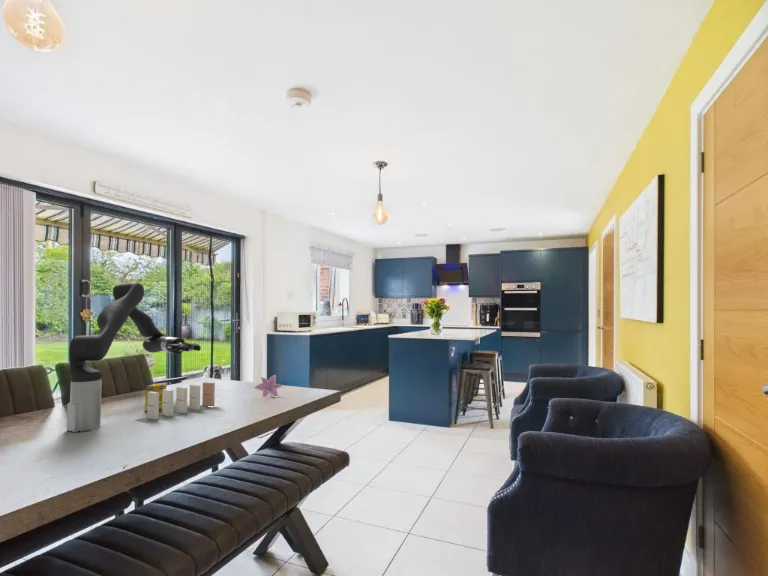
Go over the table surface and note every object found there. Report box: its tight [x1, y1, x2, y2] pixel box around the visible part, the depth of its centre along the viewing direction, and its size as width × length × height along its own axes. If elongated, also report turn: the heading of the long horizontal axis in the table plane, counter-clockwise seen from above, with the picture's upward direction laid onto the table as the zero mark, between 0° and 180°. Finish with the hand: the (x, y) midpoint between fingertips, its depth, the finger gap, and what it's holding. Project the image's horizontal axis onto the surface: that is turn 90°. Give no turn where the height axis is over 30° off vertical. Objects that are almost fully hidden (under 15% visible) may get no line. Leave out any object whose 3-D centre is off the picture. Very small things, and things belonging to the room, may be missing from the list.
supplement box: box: [144, 383, 167, 413], centre depth 179 cm, size 6×6×11 cm
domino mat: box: [135, 404, 215, 424], centre depth 175 cm, size 31×9×1 cm, turn 148°
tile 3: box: [175, 386, 188, 413], centre depth 176 cm, size 2×5×10 cm, turn 58°
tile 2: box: [188, 384, 201, 410], centre depth 181 cm, size 2×5×10 cm, turn 58°
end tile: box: [146, 391, 159, 420], centre depth 166 cm, size 2×5×10 cm, turn 58°
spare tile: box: [201, 381, 216, 406], centre depth 187 cm, size 2×5×10 cm, turn 73°
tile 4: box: [161, 388, 174, 416], centre depth 171 cm, size 2×5×10 cm, turn 58°
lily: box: [253, 374, 283, 398], centre depth 209 cm, size 12×12×10 cm
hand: (194, 348), depth 193 cm, fingers open, 5 cm apart
